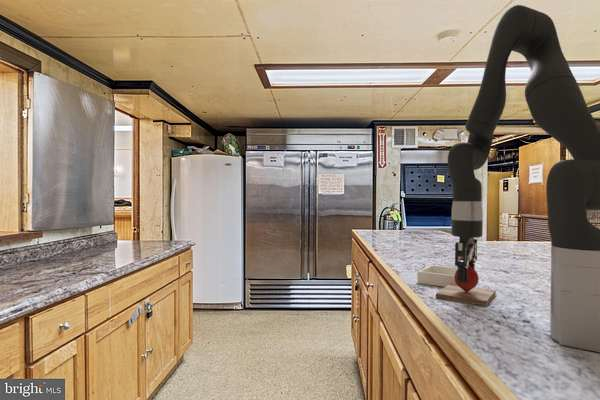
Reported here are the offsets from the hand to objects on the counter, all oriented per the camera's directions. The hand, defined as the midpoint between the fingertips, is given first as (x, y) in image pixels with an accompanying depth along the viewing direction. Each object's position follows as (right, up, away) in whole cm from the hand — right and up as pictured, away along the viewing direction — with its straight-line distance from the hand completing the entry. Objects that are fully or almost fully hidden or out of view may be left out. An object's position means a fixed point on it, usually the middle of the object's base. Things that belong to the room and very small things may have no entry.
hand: (466, 279), depth 99 cm
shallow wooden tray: (+1, -4, +17) cm, 18 cm away
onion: (0, -3, 0) cm, 3 cm away
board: (0, -4, 0) cm, 4 cm away
